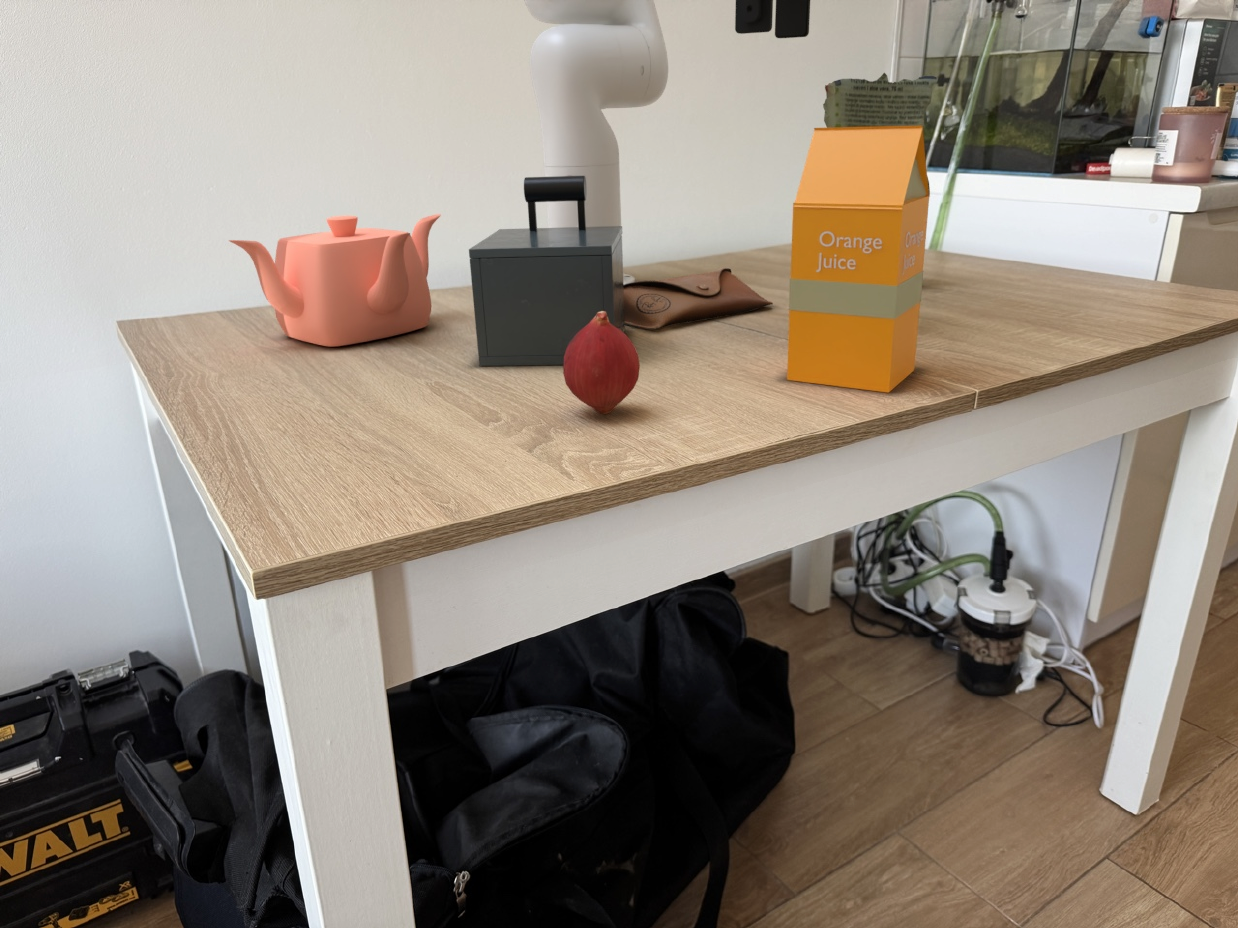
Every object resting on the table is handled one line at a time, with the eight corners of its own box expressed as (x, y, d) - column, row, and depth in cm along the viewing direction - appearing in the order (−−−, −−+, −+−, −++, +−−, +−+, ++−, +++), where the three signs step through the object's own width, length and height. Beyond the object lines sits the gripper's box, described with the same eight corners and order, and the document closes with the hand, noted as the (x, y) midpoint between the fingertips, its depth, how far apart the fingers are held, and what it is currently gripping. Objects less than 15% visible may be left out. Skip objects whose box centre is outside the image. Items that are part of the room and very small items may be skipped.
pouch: (809, 290, 114) (819, 74, 105) (845, 275, 123) (857, 75, 114) (897, 298, 108) (915, 69, 99) (928, 281, 117) (947, 70, 108)
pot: (419, 351, 92) (405, 224, 87) (247, 355, 92) (225, 229, 87) (450, 313, 109) (440, 205, 104) (306, 317, 109) (289, 209, 105)
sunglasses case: (658, 328, 95) (636, 269, 95) (623, 351, 101) (603, 295, 101) (778, 303, 105) (758, 250, 105) (741, 326, 111) (722, 275, 111)
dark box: (506, 332, 98) (498, 238, 94) (624, 330, 97) (622, 235, 93) (479, 366, 85) (469, 258, 82) (615, 364, 84) (611, 255, 81)
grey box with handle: (500, 237, 95) (495, 176, 93) (622, 234, 94) (620, 173, 92) (469, 258, 82) (463, 188, 79) (611, 255, 81) (609, 184, 78)
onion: (553, 421, 69) (546, 317, 66) (584, 399, 74) (579, 301, 71) (624, 428, 67) (620, 321, 64) (651, 405, 72) (649, 305, 69)
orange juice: (888, 393, 73) (909, 127, 66) (785, 380, 77) (794, 129, 70) (915, 369, 79) (937, 124, 72) (818, 358, 84) (829, 126, 76)
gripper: (774, -160, 85) (768, 41, 92) (696, -208, 71) (695, 33, 78) (854, -173, 82) (841, 37, 88) (788, -227, 68) (779, 28, 74)
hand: (773, 35), depth 83 cm, fingers open, 9 cm apart
